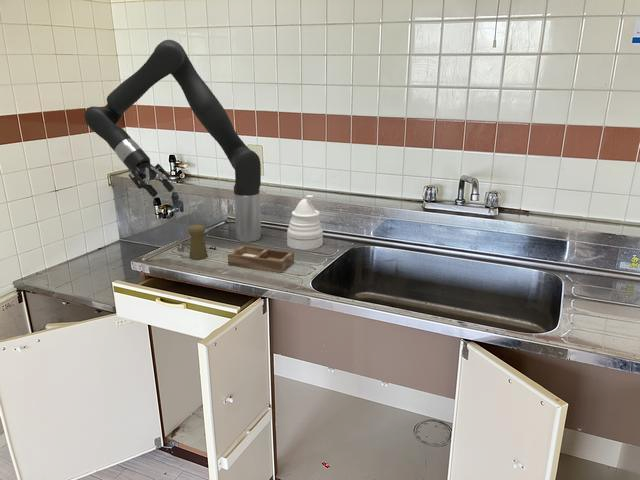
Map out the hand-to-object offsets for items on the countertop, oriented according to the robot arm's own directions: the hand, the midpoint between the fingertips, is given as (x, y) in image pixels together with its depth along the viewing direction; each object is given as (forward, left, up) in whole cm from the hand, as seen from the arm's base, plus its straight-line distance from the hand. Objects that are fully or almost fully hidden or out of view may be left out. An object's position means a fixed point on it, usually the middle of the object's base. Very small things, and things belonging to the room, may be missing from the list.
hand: (164, 192), depth 169 cm
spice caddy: (-2, +34, -21) cm, 40 cm away
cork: (0, +12, -21) cm, 24 cm away
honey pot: (-26, +40, -21) cm, 52 cm away
